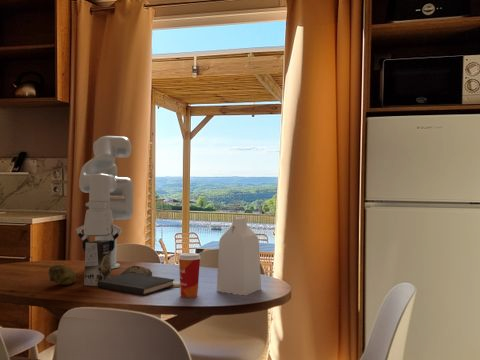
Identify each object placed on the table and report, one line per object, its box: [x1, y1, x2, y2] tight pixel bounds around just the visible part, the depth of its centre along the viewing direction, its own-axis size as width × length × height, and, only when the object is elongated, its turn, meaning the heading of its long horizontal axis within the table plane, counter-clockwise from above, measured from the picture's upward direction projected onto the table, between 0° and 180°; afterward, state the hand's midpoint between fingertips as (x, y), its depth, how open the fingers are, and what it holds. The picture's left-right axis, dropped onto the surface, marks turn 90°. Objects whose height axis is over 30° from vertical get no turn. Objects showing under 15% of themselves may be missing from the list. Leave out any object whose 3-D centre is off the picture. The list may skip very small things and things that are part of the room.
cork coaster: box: [170, 281, 180, 289], centre depth 159 cm, size 8×8×1 cm
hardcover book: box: [97, 273, 175, 296], centre depth 155 cm, size 16×23×2 cm
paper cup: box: [177, 252, 202, 299], centre depth 143 cm, size 8×8×14 cm
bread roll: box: [119, 265, 153, 276], centre depth 174 cm, size 13×12×5 cm
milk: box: [216, 217, 262, 296], centre depth 153 cm, size 12×12×26 cm
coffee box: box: [83, 240, 112, 287], centre depth 161 cm, size 9×6×16 cm
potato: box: [48, 264, 77, 286], centre depth 158 cm, size 8×13×8 cm, turn 153°
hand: (98, 250), depth 161 cm, fingers open, 9 cm apart
